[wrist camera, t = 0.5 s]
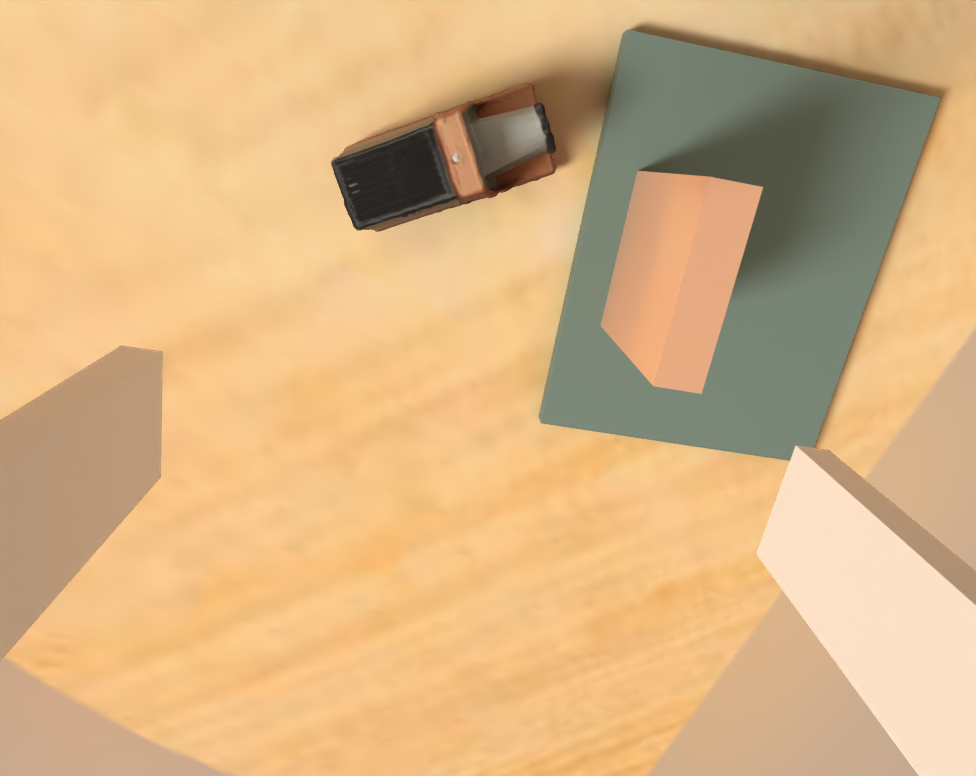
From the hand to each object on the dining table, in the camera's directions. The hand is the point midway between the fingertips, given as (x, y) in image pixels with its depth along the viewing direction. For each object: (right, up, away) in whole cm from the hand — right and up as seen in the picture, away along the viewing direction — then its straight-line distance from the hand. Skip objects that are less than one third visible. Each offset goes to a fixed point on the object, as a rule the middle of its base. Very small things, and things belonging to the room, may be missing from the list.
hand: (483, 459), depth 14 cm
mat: (+13, +8, +22) cm, 27 cm away
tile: (+8, +8, +21) cm, 24 cm away
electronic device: (-2, +13, +20) cm, 24 cm away
